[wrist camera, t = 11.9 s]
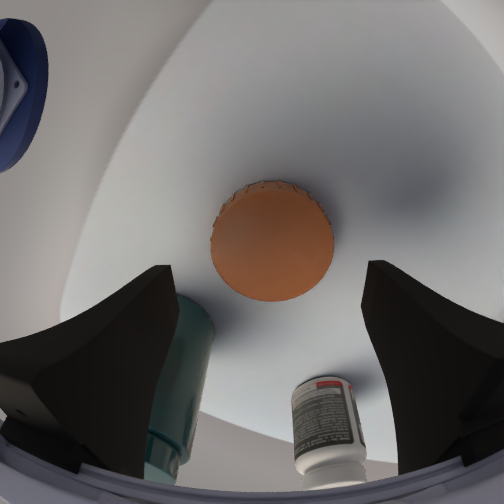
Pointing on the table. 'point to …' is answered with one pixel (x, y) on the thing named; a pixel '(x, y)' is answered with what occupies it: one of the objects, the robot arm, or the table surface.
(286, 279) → the lid
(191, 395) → the jar
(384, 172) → the table surface
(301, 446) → the pill bottle
